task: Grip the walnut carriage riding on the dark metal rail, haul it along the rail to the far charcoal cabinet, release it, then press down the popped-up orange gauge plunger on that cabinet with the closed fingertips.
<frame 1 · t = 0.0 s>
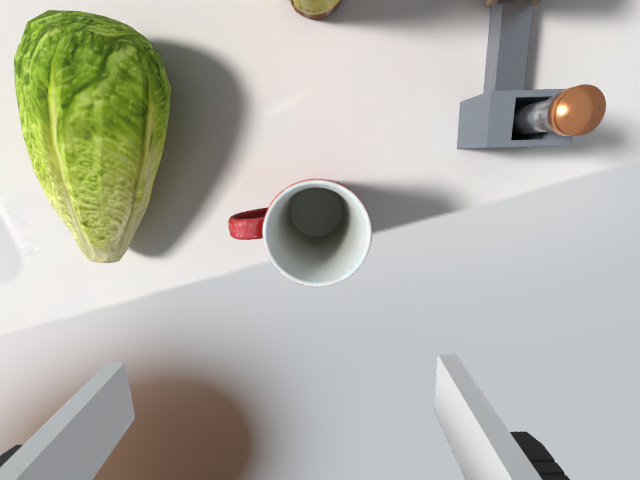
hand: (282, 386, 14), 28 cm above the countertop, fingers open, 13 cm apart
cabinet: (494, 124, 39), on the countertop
gauge plunger: (550, 115, 29), point 10 cm above the countertop, slide at 0.0 cm
mug: (302, 208, 41), on the countertop
rail: (503, 25, 36), on the countertop
lettuce: (127, 152, 39), on the countertop
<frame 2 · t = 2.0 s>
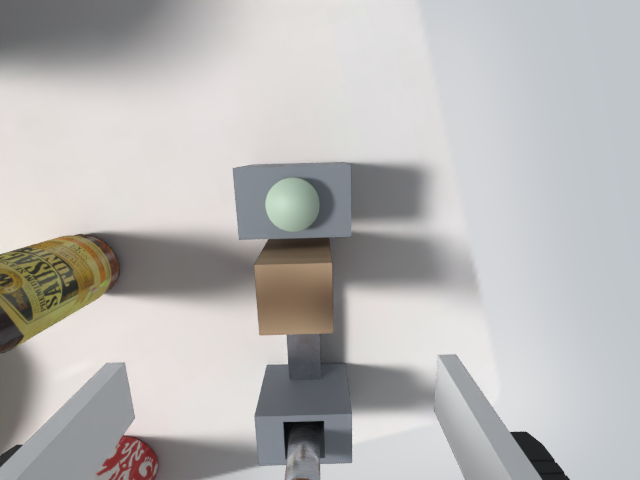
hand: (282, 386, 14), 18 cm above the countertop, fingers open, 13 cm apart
carriage: (298, 276, 27), point 5 cm above the countertop, slide at 0.0 cm
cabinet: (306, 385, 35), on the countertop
gauge plunger: (303, 468, 26), point 10 cm above the countertop, slide at 0.0 cm
sauce bottle: (89, 261, 32), on the countertop
mug: (111, 459, 38), on the countertop
rail: (303, 295, 33), on the countertop
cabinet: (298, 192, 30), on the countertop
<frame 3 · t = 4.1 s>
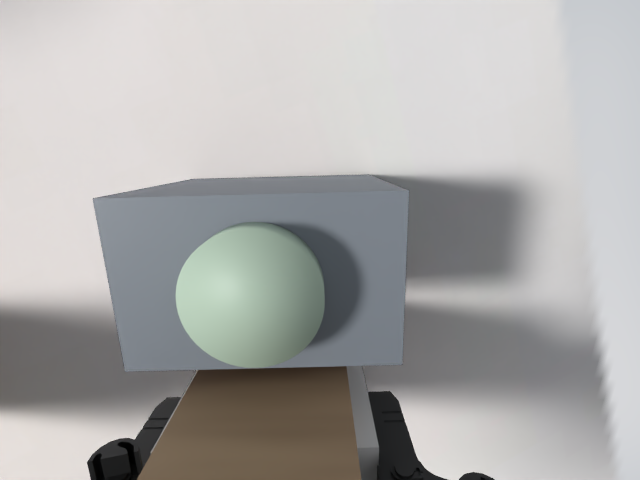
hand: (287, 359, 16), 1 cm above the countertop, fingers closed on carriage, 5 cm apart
carriage: (276, 426, 12), point 5 cm above the countertop, slide at 0.0 cm, touching gripper
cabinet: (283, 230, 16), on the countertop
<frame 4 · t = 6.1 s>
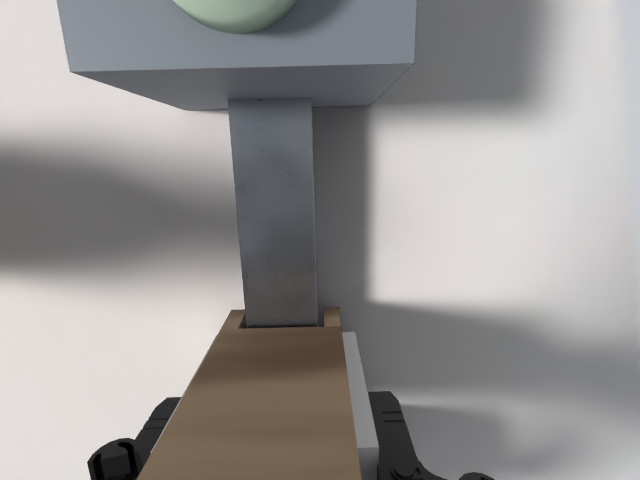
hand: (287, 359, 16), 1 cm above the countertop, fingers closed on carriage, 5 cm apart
carriage: (276, 426, 12), point 5 cm above the countertop, slide at 7.9 cm, touching gripper
rail: (285, 272, 17), on the countertop
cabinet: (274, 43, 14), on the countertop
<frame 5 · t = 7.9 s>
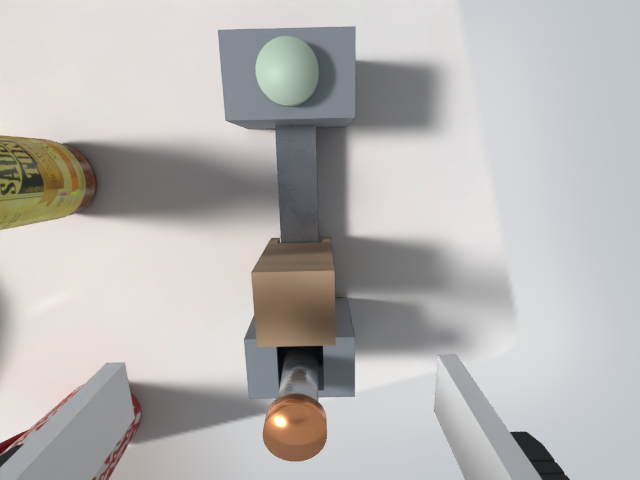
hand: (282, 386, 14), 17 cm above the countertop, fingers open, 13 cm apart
carriage: (298, 283, 25), point 5 cm above the countertop, slide at 7.9 cm
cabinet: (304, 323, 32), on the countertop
gauge plunger: (298, 392, 23), point 10 cm above the countertop, slide at 0.0 cm
sauce bottle: (63, 176, 29), on the countertop
mug: (90, 408, 34), on the countertop
rail: (300, 218, 30), on the countertop
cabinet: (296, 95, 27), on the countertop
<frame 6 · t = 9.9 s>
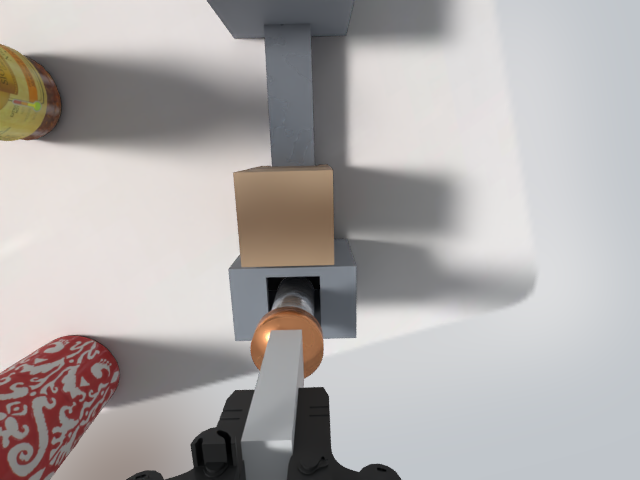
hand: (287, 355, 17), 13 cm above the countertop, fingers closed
carriage: (291, 207, 22), point 5 cm above the countertop, slide at 7.9 cm
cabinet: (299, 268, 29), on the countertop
gauge plunger: (292, 316, 20), point 9 cm above the countertop, slide at 0.9 cm, touching gripper
sauce bottle: (24, 96, 25), on the countertop
mug: (63, 367, 31), on the countertop
rail: (294, 145, 26), on the countertop
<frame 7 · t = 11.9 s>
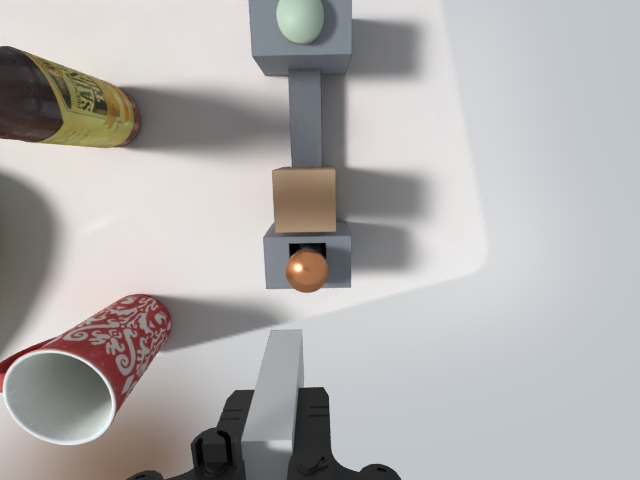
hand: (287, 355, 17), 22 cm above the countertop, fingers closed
carriage: (306, 195, 32), point 5 cm above the countertop, slide at 7.9 cm
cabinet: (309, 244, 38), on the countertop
gauge plunger: (308, 260, 32), point 6 cm above the countertop, slide at 3.5 cm
sauce bottle: (113, 116, 35), on the countertop
mug: (128, 319, 41), on the countertop
rail: (307, 152, 36), on the countertop
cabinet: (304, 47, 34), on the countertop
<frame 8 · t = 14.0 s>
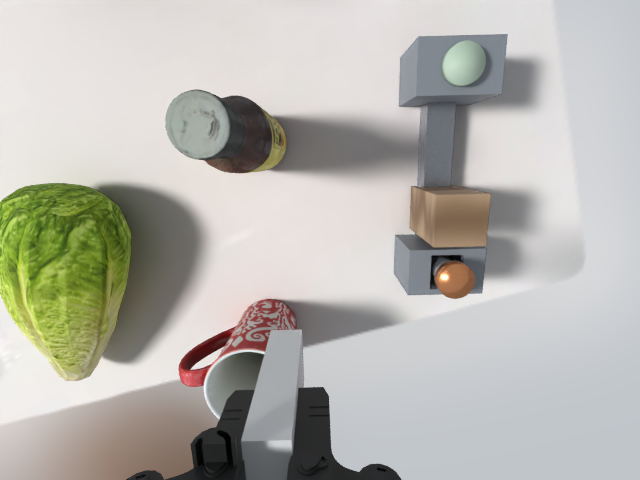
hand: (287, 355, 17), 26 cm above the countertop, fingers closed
carriage: (444, 213, 36), point 5 cm above the countertop, slide at 7.9 cm
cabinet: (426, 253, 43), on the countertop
gauge plunger: (443, 269, 37), point 6 cm above the countertop, slide at 3.5 cm
sauce bottle: (260, 142, 40), on the countertop
mug: (256, 322, 45), on the countertop
rail: (430, 172, 40), on the countertop
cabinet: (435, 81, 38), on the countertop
lettuce: (97, 275, 44), on the countertop
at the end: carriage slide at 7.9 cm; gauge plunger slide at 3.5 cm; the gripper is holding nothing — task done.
